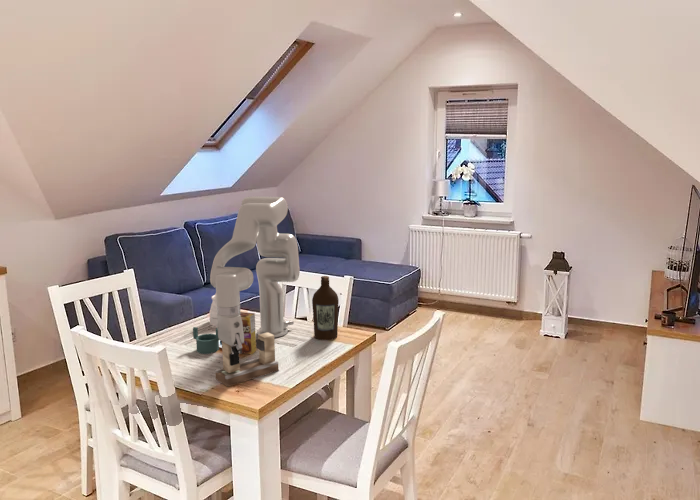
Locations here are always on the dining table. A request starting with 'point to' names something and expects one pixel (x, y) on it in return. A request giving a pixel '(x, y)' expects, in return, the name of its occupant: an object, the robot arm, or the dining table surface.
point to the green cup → (206, 342)
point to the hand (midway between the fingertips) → (231, 361)
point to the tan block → (226, 358)
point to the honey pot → (213, 312)
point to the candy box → (248, 333)
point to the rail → (253, 363)
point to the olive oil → (325, 311)
